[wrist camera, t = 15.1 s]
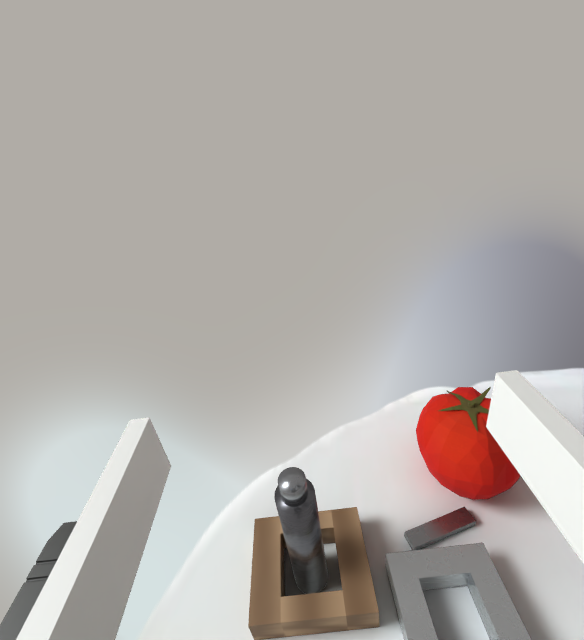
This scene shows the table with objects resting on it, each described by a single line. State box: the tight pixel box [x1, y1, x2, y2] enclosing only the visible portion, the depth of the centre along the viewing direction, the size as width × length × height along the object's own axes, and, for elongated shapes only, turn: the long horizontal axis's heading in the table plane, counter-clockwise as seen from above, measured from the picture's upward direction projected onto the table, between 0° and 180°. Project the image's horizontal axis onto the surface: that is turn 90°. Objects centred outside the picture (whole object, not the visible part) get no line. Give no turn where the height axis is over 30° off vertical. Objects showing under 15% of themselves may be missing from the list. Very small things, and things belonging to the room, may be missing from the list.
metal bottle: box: [275, 467, 328, 594], centre depth 33 cm, size 4×4×16 cm
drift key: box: [404, 507, 476, 551], centre depth 39 cm, size 8×2×1 cm, turn 107°
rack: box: [248, 507, 379, 640], centre depth 36 cm, size 12×10×3 cm
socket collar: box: [386, 543, 531, 640], centre depth 32 cm, size 10×10×2 cm
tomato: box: [416, 387, 520, 500], centre depth 43 cm, size 12×13×12 cm
